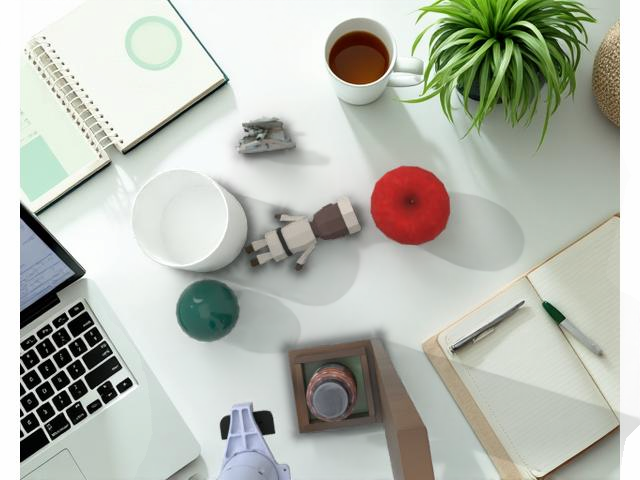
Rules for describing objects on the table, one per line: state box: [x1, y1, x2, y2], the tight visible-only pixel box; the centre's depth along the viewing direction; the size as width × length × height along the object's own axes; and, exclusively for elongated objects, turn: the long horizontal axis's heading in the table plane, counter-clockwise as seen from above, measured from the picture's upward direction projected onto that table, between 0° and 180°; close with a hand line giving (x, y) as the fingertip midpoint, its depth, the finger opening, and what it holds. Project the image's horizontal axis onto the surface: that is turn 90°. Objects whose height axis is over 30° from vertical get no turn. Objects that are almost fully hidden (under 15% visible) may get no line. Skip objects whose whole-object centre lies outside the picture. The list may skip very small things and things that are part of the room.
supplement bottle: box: [306, 363, 357, 422], centre depth 74 cm, size 6×6×11 cm
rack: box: [287, 337, 436, 480], centre depth 52 cm, size 11×12×57 cm
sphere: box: [175, 278, 241, 343], centre depth 78 cm, size 8×8×8 cm
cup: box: [130, 167, 248, 273], centre depth 77 cm, size 12×12×12 cm
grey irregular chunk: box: [235, 115, 297, 155], centre depth 81 cm, size 4×8×7 cm, turn 97°
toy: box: [243, 195, 362, 272], centre depth 80 cm, size 8×5×15 cm
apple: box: [370, 165, 451, 246], centre depth 77 cm, size 10×10×11 cm
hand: (262, 453), depth 70 cm, fingers open, 7 cm apart
